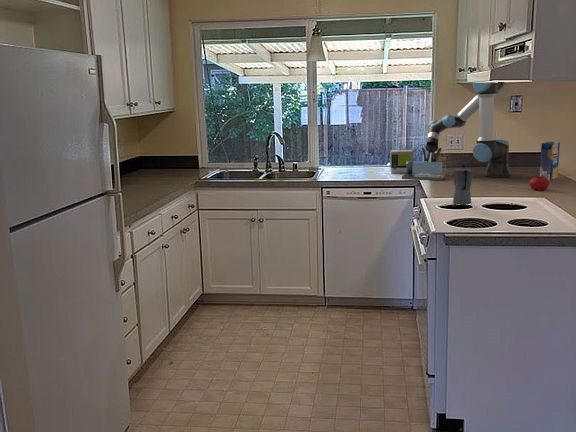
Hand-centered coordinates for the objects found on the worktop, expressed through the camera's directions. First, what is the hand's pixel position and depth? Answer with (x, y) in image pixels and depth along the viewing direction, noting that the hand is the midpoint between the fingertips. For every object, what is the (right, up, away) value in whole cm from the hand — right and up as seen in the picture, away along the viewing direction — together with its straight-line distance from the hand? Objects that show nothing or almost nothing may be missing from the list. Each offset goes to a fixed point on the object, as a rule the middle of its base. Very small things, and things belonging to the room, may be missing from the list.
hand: (428, 169), depth 388 cm
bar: (-4, -2, -2) cm, 5 cm away
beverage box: (+70, -7, -15) cm, 72 cm away
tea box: (-13, 0, +24) cm, 28 cm away
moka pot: (-4, -25, -89) cm, 93 cm away
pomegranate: (+49, -16, -52) cm, 73 cm away
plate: (-4, -6, -4) cm, 8 cm away
